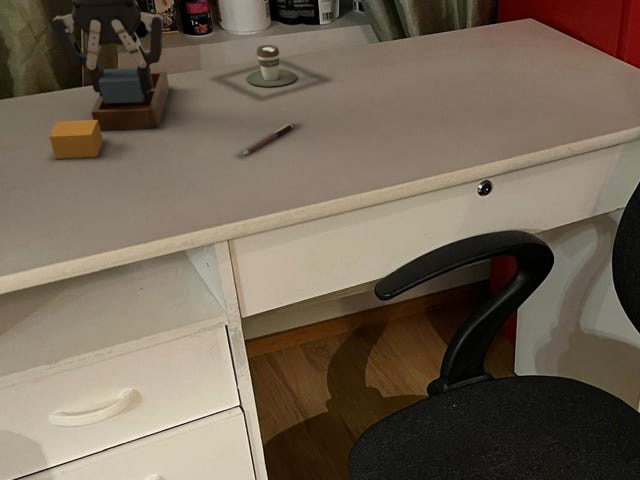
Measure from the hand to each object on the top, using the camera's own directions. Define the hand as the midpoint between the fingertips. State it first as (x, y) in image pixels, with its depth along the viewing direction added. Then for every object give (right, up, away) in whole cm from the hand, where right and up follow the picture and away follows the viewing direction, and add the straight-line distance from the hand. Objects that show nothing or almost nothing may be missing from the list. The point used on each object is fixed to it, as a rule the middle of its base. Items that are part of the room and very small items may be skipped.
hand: (124, 93), depth 118 cm
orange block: (-3, -9, -7) cm, 12 cm away
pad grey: (0, 0, 0) cm, 0 cm away
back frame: (-1, -1, +5) cm, 5 cm away
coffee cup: (+16, +7, +16) cm, 24 cm away
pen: (+20, -8, -3) cm, 22 cm away
